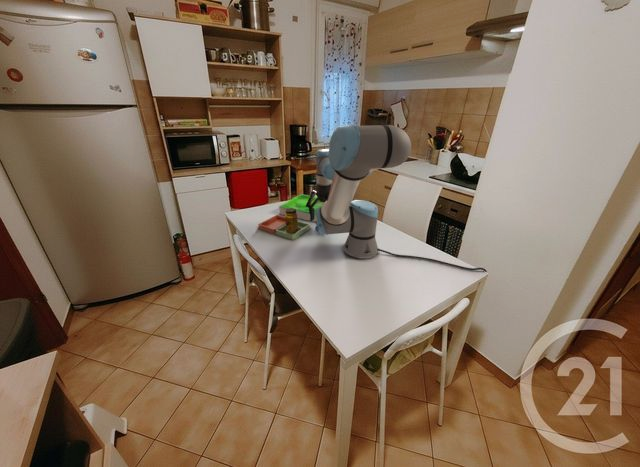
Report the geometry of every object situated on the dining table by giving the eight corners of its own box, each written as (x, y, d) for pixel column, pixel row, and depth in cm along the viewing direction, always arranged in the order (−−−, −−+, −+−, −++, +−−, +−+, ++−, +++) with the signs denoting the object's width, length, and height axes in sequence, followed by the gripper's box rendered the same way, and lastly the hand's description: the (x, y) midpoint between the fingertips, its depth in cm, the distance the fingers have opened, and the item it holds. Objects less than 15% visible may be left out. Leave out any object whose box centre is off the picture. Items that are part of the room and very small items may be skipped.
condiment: (282, 232, 135) (281, 210, 130) (291, 225, 142) (290, 205, 136) (294, 235, 132) (293, 213, 127) (303, 228, 139) (302, 207, 133)
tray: (300, 201, 177) (300, 193, 174) (334, 207, 167) (334, 200, 165) (279, 214, 157) (279, 206, 155) (317, 222, 147) (317, 214, 145)
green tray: (310, 228, 140) (310, 224, 139) (293, 240, 129) (292, 235, 128) (293, 223, 146) (293, 219, 144) (275, 234, 134) (275, 229, 133)
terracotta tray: (292, 223, 146) (292, 219, 145) (274, 233, 135) (274, 229, 134) (277, 218, 151) (277, 214, 150) (258, 228, 140) (258, 224, 139)
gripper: (351, 186, 122) (348, 226, 132) (307, 177, 133) (307, 215, 144) (343, 190, 116) (341, 232, 126) (298, 180, 128) (299, 220, 138)
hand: (323, 223), depth 135 cm, fingers open, 13 cm apart
